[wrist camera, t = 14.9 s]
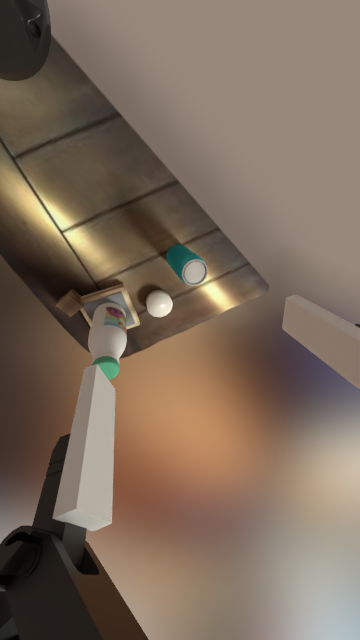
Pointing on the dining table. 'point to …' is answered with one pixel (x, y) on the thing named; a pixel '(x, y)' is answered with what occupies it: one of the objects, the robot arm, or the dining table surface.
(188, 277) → the beverage can
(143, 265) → the dining table surface
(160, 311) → the white rounded block
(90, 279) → the dining table surface
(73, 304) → the tan wooden block
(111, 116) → the dining table surface
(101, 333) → the milk bottle
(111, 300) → the wooden picture frame
